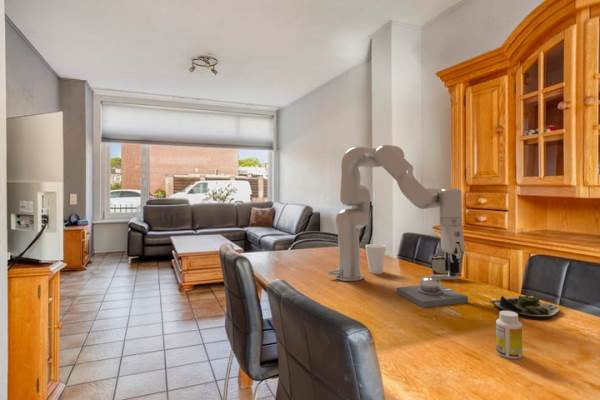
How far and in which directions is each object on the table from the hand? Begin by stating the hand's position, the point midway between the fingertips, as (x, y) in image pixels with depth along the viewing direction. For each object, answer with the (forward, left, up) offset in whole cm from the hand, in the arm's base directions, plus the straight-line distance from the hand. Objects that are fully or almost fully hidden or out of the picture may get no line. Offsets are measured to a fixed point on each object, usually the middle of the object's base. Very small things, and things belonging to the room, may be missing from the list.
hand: (452, 271), depth 132 cm
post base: (-8, +2, -10) cm, 13 cm away
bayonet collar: (-5, +2, -7) cm, 8 cm away
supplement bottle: (-16, -43, -10) cm, 46 cm away
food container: (+14, +26, -10) cm, 32 cm away
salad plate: (+13, -19, -10) cm, 25 cm away
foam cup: (-10, +44, -10) cm, 46 cm away
